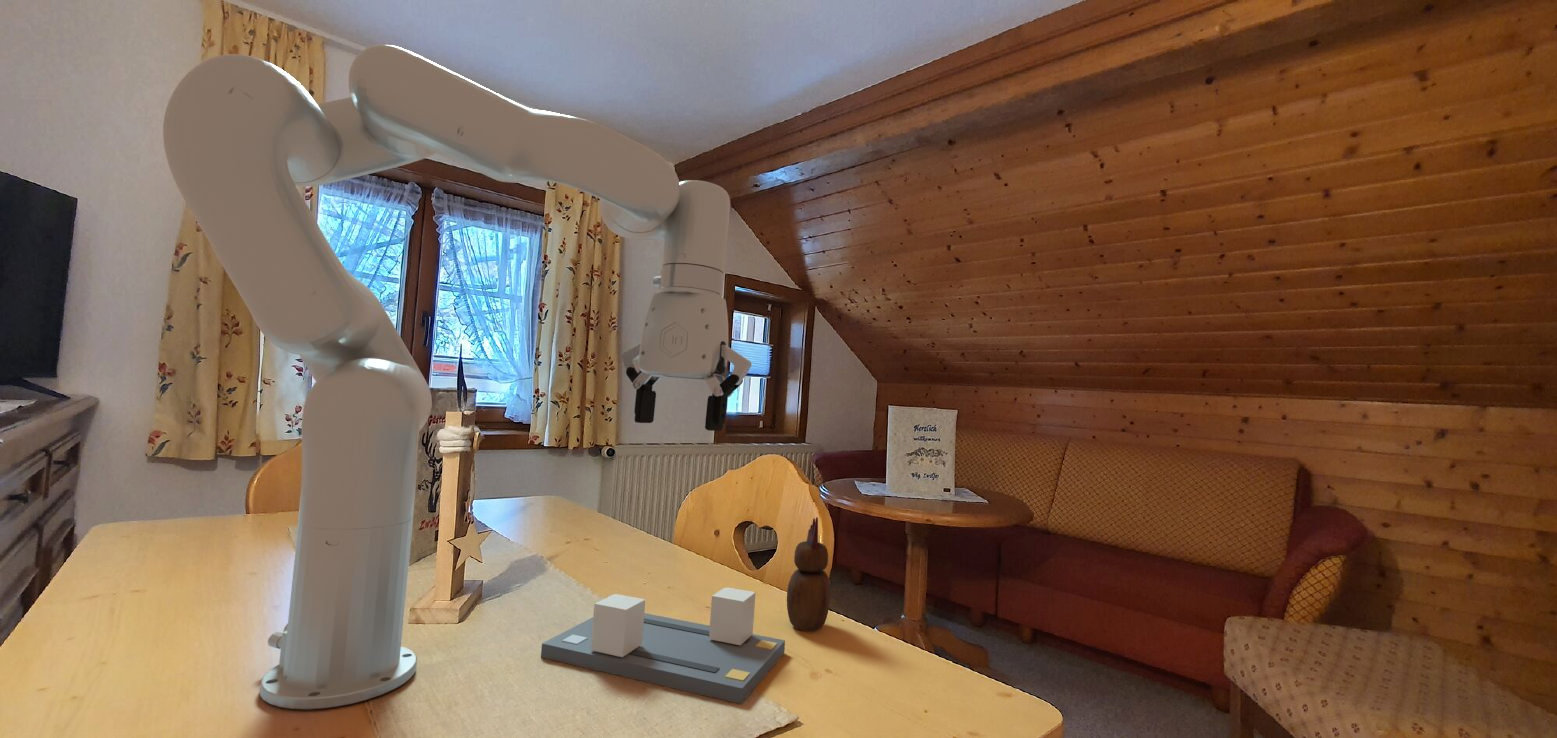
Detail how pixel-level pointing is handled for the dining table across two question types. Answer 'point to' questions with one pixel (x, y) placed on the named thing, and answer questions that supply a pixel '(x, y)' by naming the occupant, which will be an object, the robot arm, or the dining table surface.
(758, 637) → the switch panel
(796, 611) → the wooden figurine
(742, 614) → the tab far
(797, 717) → the dining table surface
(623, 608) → the tab near
